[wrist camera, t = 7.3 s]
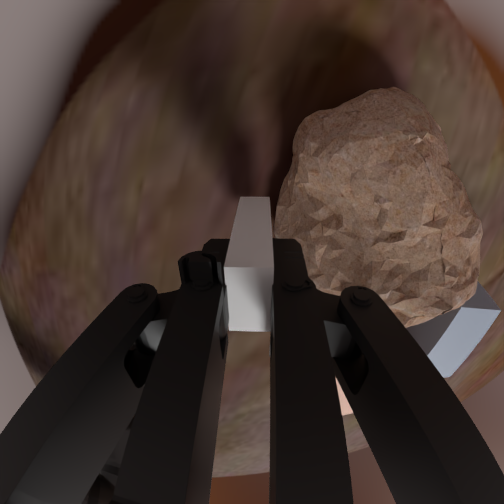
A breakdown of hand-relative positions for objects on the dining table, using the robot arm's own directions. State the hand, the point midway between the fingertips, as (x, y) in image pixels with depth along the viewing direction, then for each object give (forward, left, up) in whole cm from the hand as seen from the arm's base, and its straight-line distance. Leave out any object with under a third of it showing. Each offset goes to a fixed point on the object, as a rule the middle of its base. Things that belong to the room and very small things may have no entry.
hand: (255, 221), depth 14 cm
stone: (+6, +1, -2) cm, 7 cm away
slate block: (+14, -7, -2) cm, 16 cm away
